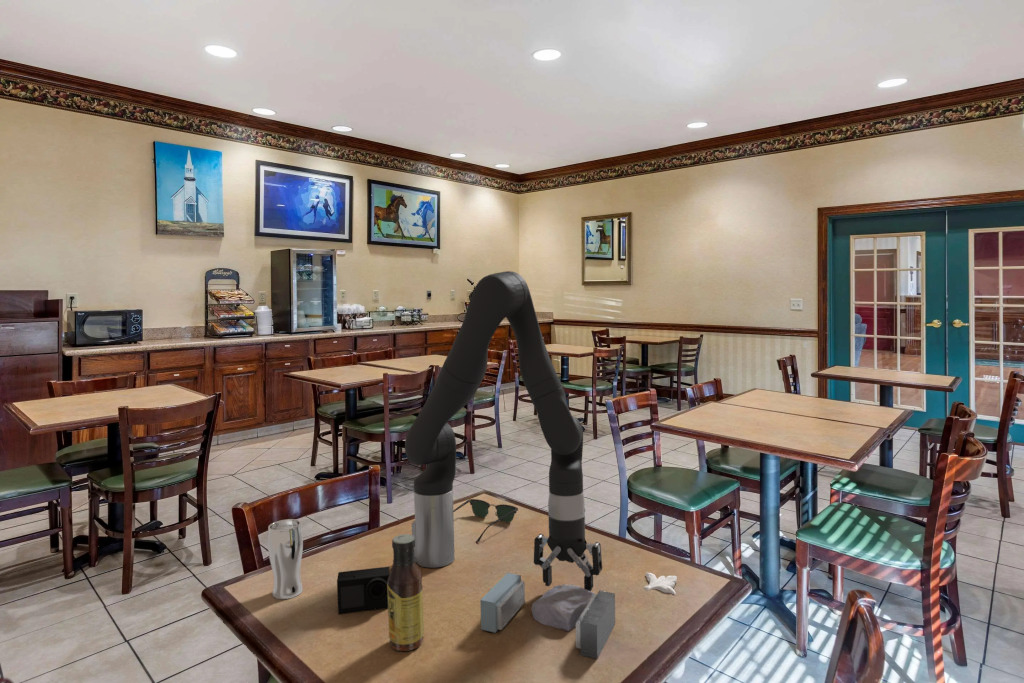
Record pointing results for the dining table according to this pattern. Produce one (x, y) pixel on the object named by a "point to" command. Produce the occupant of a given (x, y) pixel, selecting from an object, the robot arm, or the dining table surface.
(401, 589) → the sauce bottle
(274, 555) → the beer glass
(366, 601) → the digital camera
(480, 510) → the sunglasses
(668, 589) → the acanthus leaf ornament
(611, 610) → the block
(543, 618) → the stone block
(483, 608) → the block
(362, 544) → the dining table surface
